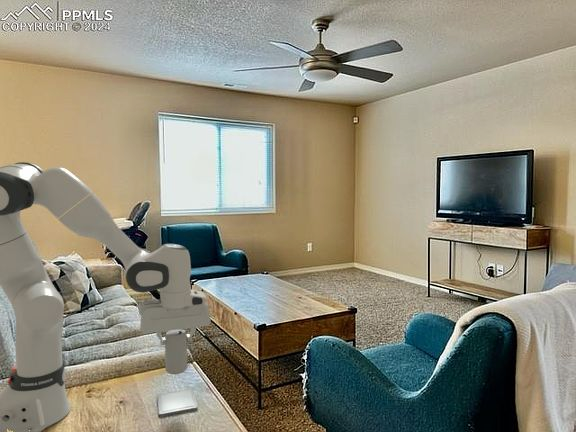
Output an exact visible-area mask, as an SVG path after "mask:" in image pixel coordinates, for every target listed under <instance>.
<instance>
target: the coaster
mask: <svg viewBox="0 0 576 432" xmlns="http://www.w3.org/2000/svg"><path fill="white" fill-rule="evenodd" d="M157 406H158V407H157V409H158V411H157V412H158V418H160V417H165V416H171V415H176V414H181V413H186V412H193V411H194V412H195V411H198V402H197V399H196V394H195V390H194V387H192V388H186V389H181V390H174V391H169V392H168V391H167V392H161V393H157Z"/></svg>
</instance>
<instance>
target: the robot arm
mask: <svg viewBox="0 0 576 432" xmlns="http://www.w3.org/2000/svg"><path fill="white" fill-rule="evenodd" d="M33 205H40V206H42V207H44V208H45V209H47V210H48V211H49V212H50V213H51V214H52V216H54V217H55V218H56V219H57V220H58V221H59V222H60V223H61V224H62V225H63V226H64V227H66V228H67V229H68V230H69V231H71V232H72V233H74V234H76V235H78V236H79V237H83V238H90V239H94V240H96V241H98V242H100V243H101V244H103V245H104V246H105V247H106V248H107V249H108V250H109V251H110V252H111V253H112V254H113V255H114V256H116V258H117V259H119V260H120V262H121V263H122V264H123V267H124V271H125V281H126V284H127V285H128V287H129V288H130V289H131V290H132V291H134V292H136V293H141V294H142V293H148V292H152V291H156V290H159V291H160V292H159V295H160V296H159V297H160V298H159V299H153V300H144V301H143V302H141V303H140V304H139V305H138V314H139V316H140V327H139V328H140V329H139V330H140V332H142V334H150V333H155V334H156V337H157V338H158V339H159V341H160V346H165V345H166V339H165V336H164V337H163V336H162V332H168V331H170V330H177V329H182V330H186V329H190V332H189V333H186V334H187V343H190V342H193V336H194V335H195V333H196V329H197V328H200V327H201V328H202V327H208V326H210V324H211V323H212V322H211V321H212V320H211V318H212V317H211V311H210V308H209V305H208V304H207V296H206V294H205V293H204V292H203V291H201V290H195V289H192V285H191V282H190V279H191V275H192V270H191V269H192V265H191V256H190V252H189V249H187V247H185V246H184V245H180V244H178V243H177V244H175V243H165V244H162V245H161V246H160V247H159V248H158V249H156V250H154V251H153V252H152V251H150V250H147V249H144V248H142V247H141V246H138V245H137V244H136V243H135V241H133V240H132V239H131V238H130V237H129V236H128V235H127V234H126V233H125V232H124V231H123V230H122V228H120V227H119V226H118V225H117V223H116V222H115V220H114V218H113V216H112V215H111V213H110V212H109V210H108V209H107V207H106V206H105V204H104V203H103V202H102V200H101V199H100V198H99V197H98V196H97V195H96V194H95V192H94V191H93V190H91V188H89V186H88V185H87V184H86V183H84V182H83V181H82V180H81V179H80V178H78V177H77V176H76V175H74V173H72V172H71V171H70V170H68V169H66V168H64V167H60V166H59V167H57V166H55V167H51V168H47V169H45V170H44V169H43V168H41V167H40V166H38V165H37V164H34V163H31V162H25V161H23V162H21V161H20V162H16V163H15V162H14V163H13V164H6V165H5V166H1V167H0V287H1V288H2V291H3V292H4V294H5V295H6V297H7V299H8V300H9V302H10V304H11V307H12V309H13V311H14V317H15V344H14V346H15V364H16V365H15V366H13V367H12V369H11V370H10V374H9V375H8V379H7V386H6V387H5V388H3V389H1V391H0V432H7V429H8V430H9V431H10V430H11V431H13V432H42V431H44V429H46V428H48V427H50V426H52V425H54V424H56V423H58V422H59V421H61V420H63V419H64V418H65V417H66V416H67V415H68V414H69V413H70V411H71V410H72V409H71V408H72V406H71V403H70V401H69V399H68V395H67V391H66V385H65V382H66V368H65V362H64V361H63V344H62V342H63V341H62V340H63V337H62V335H63V328H64V327H63V326H64V325H63V324H64V310H65V304H64V303H65V302H64V299H63V297H62V295H61V294H60V293H59V291H58V290H57V288H56V286H55V285H54V284H53V282H52V280H51V278H50V276H49V274H48V272H47V269H46V268H45V266H44V264H43V261H42V259H41V257H40V254H39V252H38V250H37V248H36V246H35V245H34V242H33V241H32V238H31V236H30V235H29V232H28V230H27V229H26V227H25V225H24V223H23V221H22V218H21V212H22V211H23V210H27V209H29V208H31V207H32V206H33ZM29 430H30V431H29Z"/></svg>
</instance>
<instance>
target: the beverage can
mask: <svg viewBox="0 0 576 432" xmlns="http://www.w3.org/2000/svg"><path fill="white" fill-rule="evenodd" d="M187 334H188V333H187V332H186V329H177V330H168V331H166V333H165V336H164V337H165V339H166V345H164V354H165V355H164V360H165V361H164V362H165V363H164V364H165V372H166V373H168V374H169V375H180V374H182V373H184V372H185V371H186V370H187V368H188V342H187Z"/></svg>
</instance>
